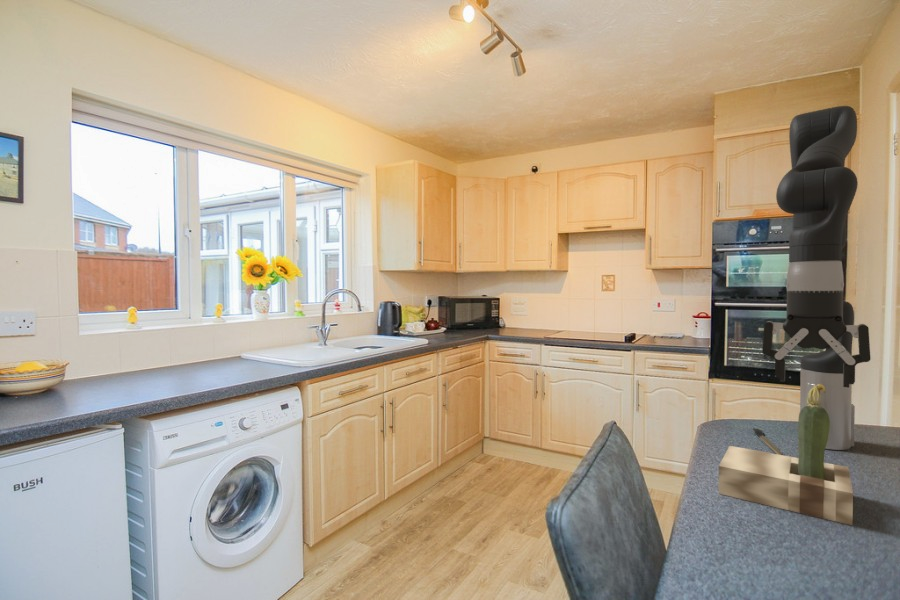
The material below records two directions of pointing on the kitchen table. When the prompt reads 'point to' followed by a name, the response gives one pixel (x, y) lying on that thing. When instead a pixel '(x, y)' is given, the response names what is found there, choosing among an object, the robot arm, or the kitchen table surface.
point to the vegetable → (812, 435)
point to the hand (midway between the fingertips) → (813, 383)
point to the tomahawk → (767, 441)
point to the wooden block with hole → (786, 484)
